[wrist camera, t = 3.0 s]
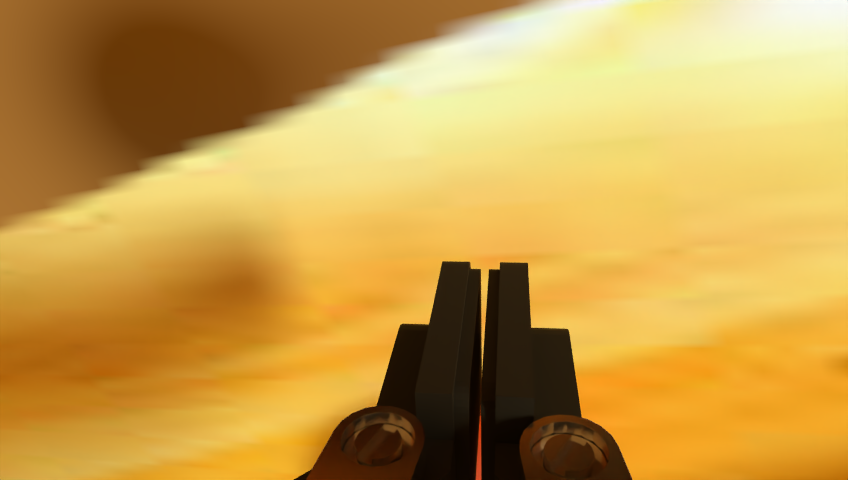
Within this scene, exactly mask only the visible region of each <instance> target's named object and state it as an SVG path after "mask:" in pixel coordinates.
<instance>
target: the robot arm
mask: <svg viewBox="0 0 848 480" xmlns="http://www.w3.org/2000/svg"><path fill="white" fill-rule="evenodd" d="M480 408H481V480H632V477H631V475H630V473H629V470H628V468H627V465H626V463H625V461H624V458H623V456H622V453H621V451H620V449H619V446H618V445H617V443H616V442H615V440H614V438H613V437H612V435H611V434H609V433H608V432H607V431H606V430H605V429H604V428H602V427H601V426H600V425H598V424H596V423H594V422H592V421H590V420H588V419H585V418H582V417H581V410H580V403H579V396H578V389H577V383H576V376H575V369H574V362H573V355H572V349H571V342H570V335H569V330H568V329H553V328H531V318H530V298H529V278H528V263H503V262H500V270H495V269H489V279H488V294H487V309H486V324H485V339H484V354H483V369H482V349H481V269H471V267H470V262H445V261H443V262H442V266H441V271H440V276H439V280H438V285H437V290H436V295H435V299H434V304H433V309H432V313H431V318H430V323H429V325H425V324H401V325H400V328H399V330H398V334H397V337H396V341H395V344H394V348H393V351H392V355H391V358H390V362H389V365H388V369H387V372H386V376H385V379H384V382H383V386H382V389H381V393H380V396H379V400H378V403H377V406H375V407H369V408H364V409H362V410H359V411H357V412H354V413H352V414H351V415H349V416H348V417H346V418H345V419H344V420H342V421H341V422H340V424H339V425H338V426H337V427H336V429H335V430H334V431H333V433H332V435H331V437H330V438H329V440H328V442H327V444H326V445H325V447H324V449H323V451H322V452H321V454H320V456H319V458H318V459H317V461H316V463H315V465H314V466H313V468H312V470H310V471H308V472H306V473H305V474H303V475H301V476H299V477H298V478H296V479H294V480H476V469H477V454H478V439H479V423H480Z"/></svg>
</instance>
